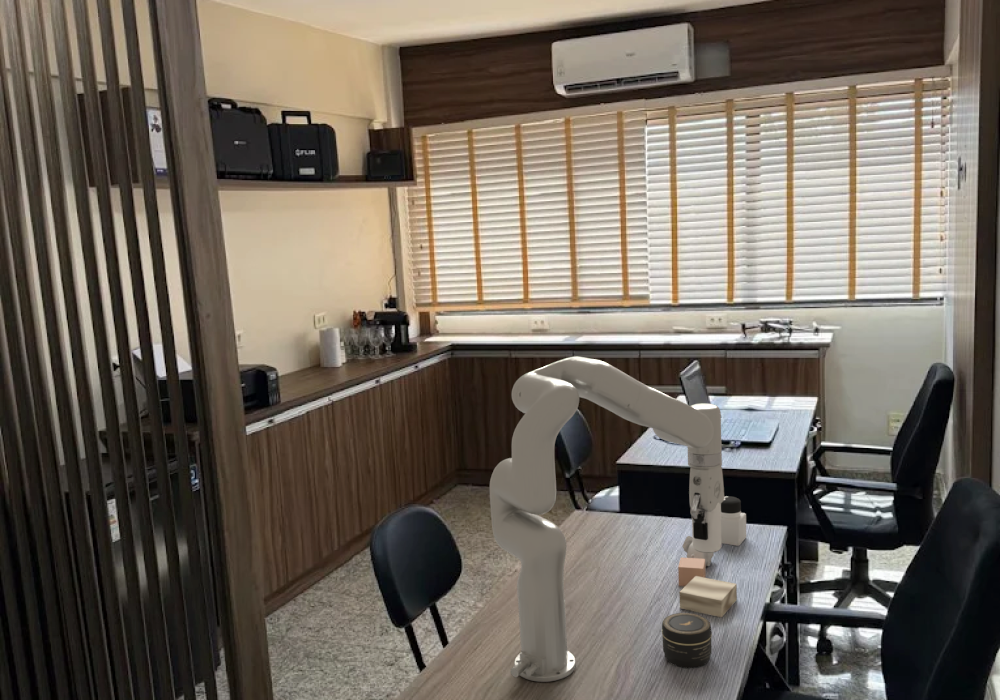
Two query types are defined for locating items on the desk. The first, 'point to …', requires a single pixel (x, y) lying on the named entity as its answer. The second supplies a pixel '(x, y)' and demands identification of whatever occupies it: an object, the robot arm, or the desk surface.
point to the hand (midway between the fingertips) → (706, 532)
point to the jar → (687, 640)
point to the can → (710, 532)
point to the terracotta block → (690, 569)
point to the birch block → (708, 596)
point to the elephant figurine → (694, 553)
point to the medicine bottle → (732, 521)
